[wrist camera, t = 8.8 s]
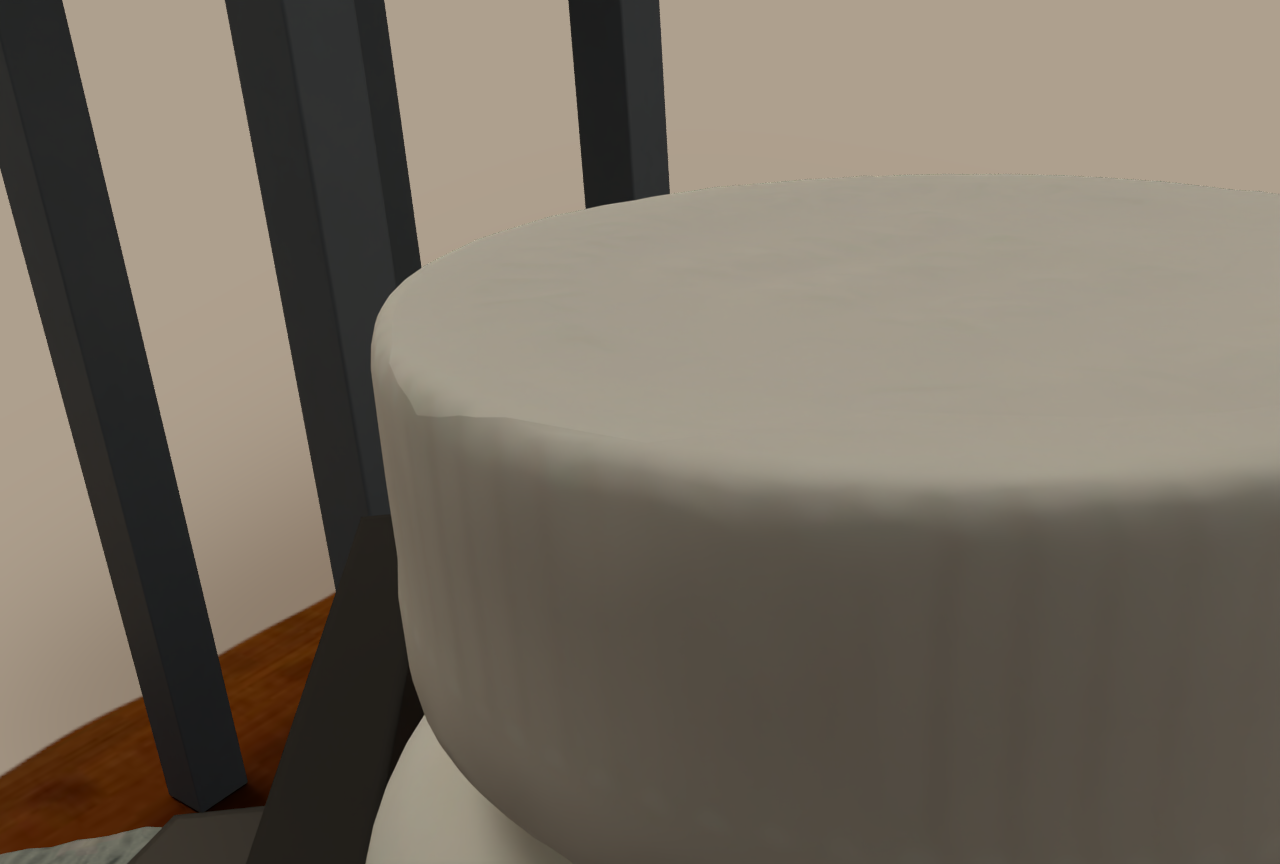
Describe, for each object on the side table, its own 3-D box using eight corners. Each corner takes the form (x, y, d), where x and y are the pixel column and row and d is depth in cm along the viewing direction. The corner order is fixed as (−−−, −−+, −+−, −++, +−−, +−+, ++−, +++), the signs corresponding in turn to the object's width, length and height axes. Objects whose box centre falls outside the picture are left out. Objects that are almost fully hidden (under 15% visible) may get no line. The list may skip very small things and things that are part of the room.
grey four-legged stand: (445, 965, 30) (159, -706, 17) (159, 796, 37) (-188, -471, 25) (707, 709, 40) (645, -483, 27) (440, 615, 47) (293, -361, 34)
